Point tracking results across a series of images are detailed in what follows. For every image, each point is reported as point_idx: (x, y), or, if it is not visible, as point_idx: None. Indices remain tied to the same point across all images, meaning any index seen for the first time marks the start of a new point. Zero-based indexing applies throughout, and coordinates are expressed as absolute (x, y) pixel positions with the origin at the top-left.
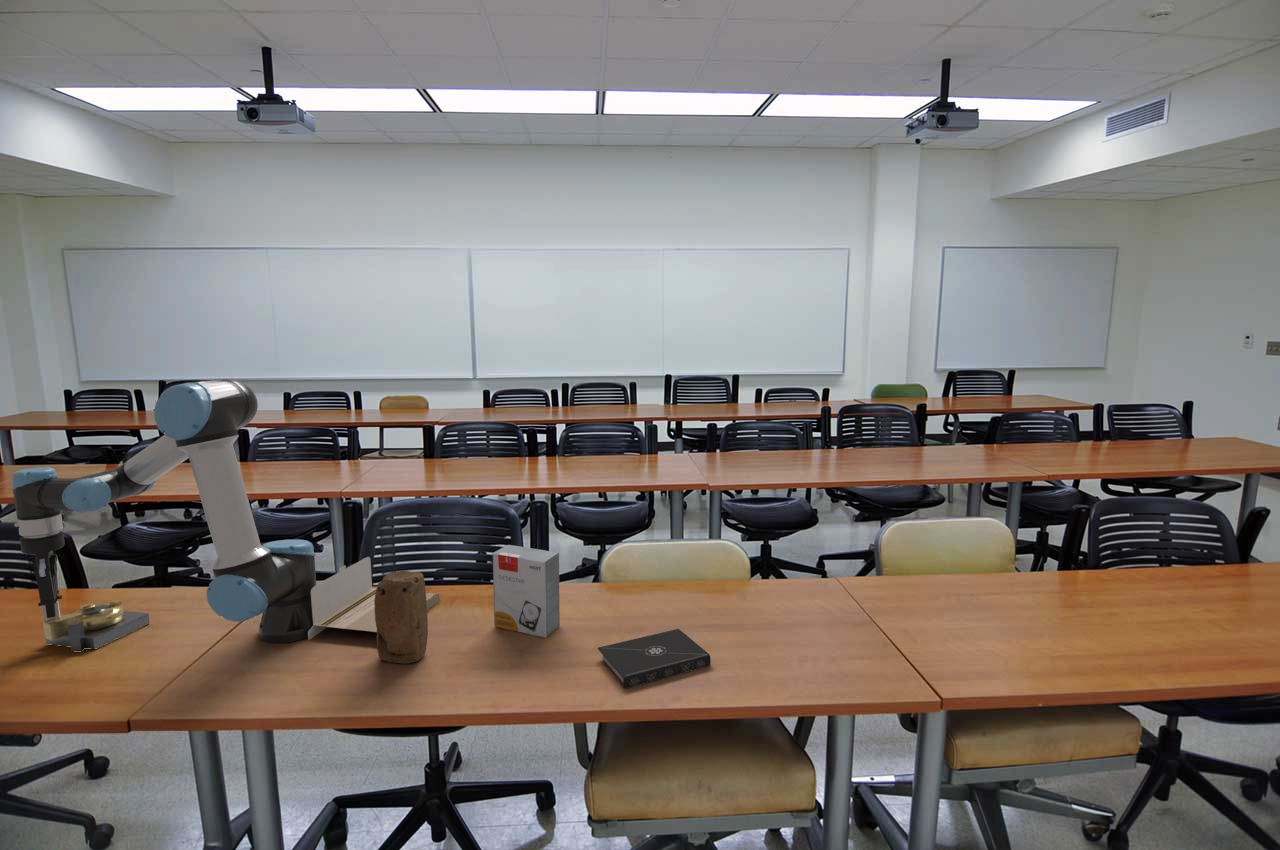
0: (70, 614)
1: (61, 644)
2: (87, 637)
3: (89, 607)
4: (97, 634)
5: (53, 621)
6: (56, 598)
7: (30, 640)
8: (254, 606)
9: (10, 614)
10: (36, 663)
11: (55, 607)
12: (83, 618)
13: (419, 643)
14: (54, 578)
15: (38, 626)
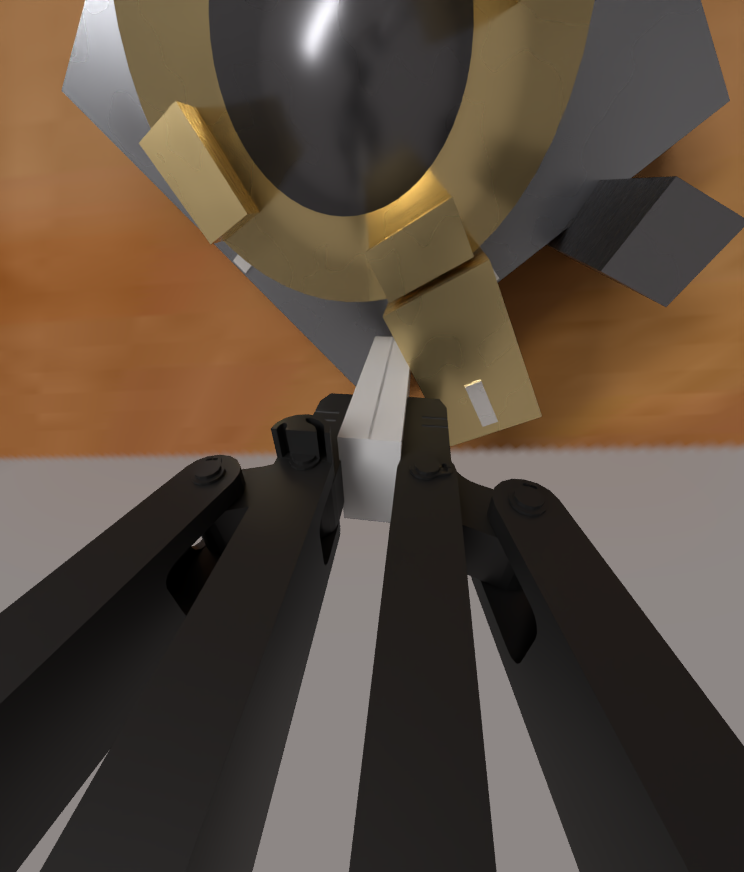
0: (414, 302)
1: None
2: (649, 157)
3: (225, 159)
4: (659, 68)
5: (491, 398)
6: (332, 461)
7: (278, 410)
8: None
9: (24, 458)
10: (559, 386)
11: (403, 428)
12: (500, 190)
13: None
14: (210, 805)
15: (144, 395)
